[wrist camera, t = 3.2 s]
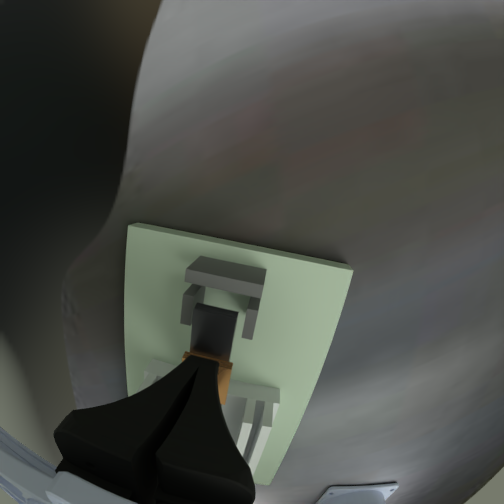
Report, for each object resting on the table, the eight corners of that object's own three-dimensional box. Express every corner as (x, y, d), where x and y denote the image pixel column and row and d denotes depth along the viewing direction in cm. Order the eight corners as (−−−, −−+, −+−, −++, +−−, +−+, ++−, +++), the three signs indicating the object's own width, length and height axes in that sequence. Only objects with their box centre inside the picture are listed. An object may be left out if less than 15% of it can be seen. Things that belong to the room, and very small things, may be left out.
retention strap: (211, 480, 17) (208, 492, 16) (184, 473, 17) (180, 485, 16) (243, 311, 12) (239, 326, 11) (193, 300, 12) (184, 313, 11)
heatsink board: (270, 475, 20) (266, 515, 16) (140, 443, 21) (121, 478, 16) (348, 264, 15) (372, 295, 11) (138, 222, 16) (92, 236, 11)
